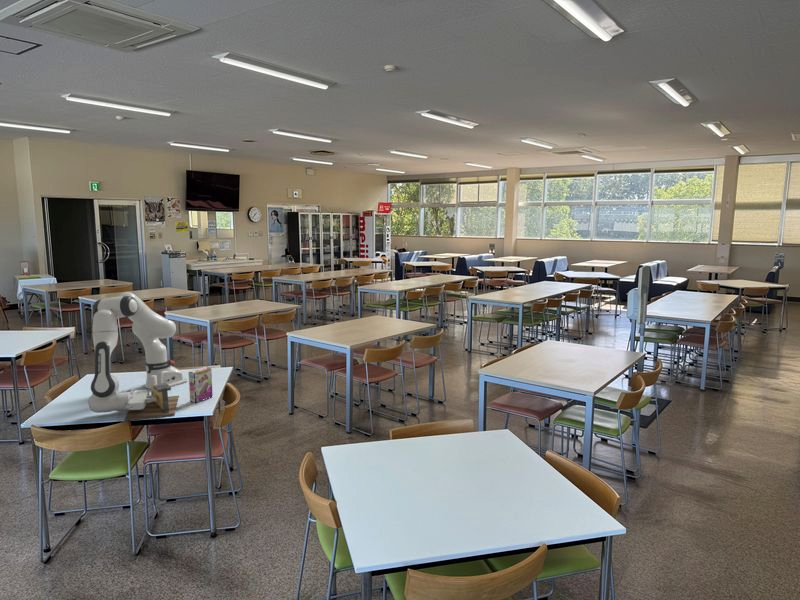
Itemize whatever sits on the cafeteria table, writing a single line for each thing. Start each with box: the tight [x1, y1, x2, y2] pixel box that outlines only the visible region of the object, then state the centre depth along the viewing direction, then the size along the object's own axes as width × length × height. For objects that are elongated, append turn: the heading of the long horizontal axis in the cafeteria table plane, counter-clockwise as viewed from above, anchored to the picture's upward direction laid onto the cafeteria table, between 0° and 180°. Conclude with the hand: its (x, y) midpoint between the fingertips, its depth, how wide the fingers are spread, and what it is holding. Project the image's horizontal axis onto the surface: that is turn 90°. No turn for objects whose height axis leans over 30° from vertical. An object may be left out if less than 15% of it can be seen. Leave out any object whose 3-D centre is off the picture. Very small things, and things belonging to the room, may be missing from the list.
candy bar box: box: [188, 366, 213, 403], centre depth 282 cm, size 11×5×16 cm, turn 149°
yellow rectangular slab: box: [150, 375, 163, 409], centre depth 272 cm, size 20×3×13 cm, turn 40°
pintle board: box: [123, 383, 180, 422], centre depth 270 cm, size 28×22×14 cm
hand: (156, 398), depth 269 cm, fingers closed
